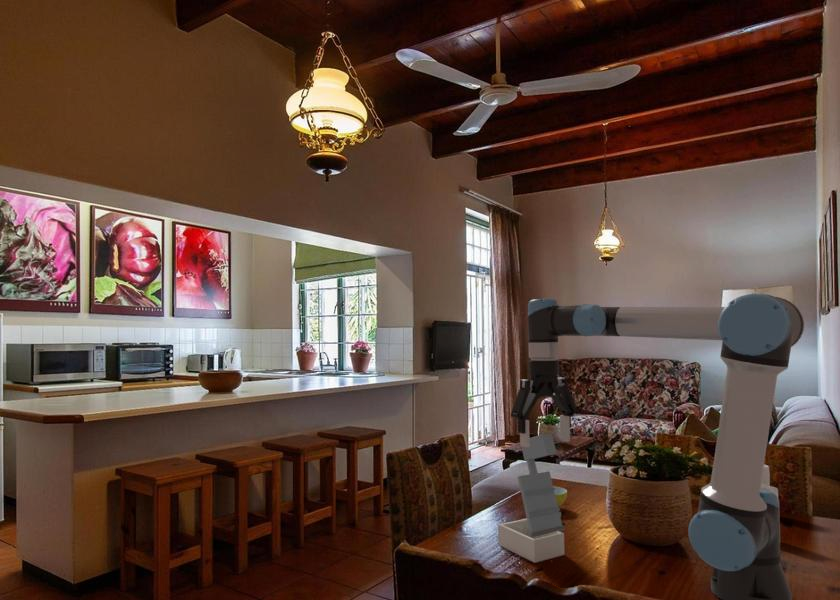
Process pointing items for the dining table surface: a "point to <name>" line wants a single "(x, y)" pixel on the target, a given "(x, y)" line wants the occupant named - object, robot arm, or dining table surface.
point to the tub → (530, 541)
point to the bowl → (560, 495)
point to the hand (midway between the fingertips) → (545, 443)
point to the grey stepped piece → (539, 489)
